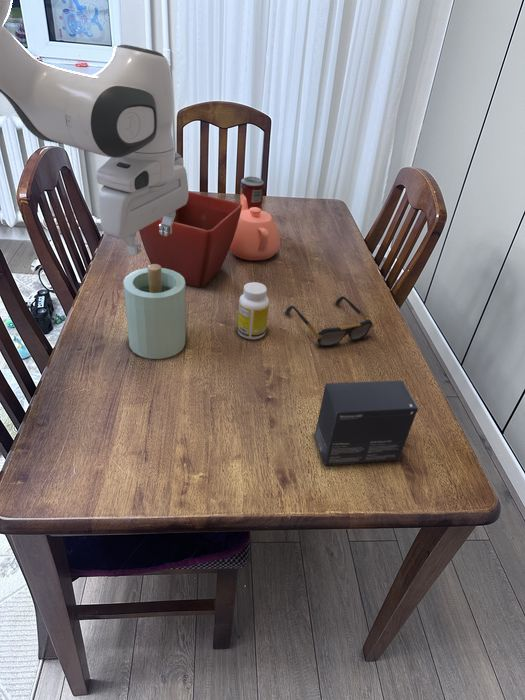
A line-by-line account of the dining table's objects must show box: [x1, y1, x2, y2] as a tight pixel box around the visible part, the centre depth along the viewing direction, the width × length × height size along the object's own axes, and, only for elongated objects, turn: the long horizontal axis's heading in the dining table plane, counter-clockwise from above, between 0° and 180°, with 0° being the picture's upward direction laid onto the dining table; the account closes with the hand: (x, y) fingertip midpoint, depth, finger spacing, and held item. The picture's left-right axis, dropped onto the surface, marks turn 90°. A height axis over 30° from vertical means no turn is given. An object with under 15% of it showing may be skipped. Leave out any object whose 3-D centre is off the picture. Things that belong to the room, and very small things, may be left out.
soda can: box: [239, 176, 265, 211], centre depth 150 cm, size 7×7×12 cm
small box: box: [314, 380, 419, 466], centre depth 78 cm, size 13×7×12 cm, turn 99°
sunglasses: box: [285, 295, 375, 348], centre depth 108 cm, size 14×15×5 cm
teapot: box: [229, 194, 281, 261], centre depth 132 cm, size 22×15×12 cm
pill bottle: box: [237, 281, 270, 340], centre depth 101 cm, size 6×6×11 cm
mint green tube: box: [122, 267, 187, 360], centre depth 95 cm, size 11×11×14 cm
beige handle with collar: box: [147, 263, 162, 293], centre depth 93 cm, size 4×4×16 cm
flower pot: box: [138, 190, 242, 288], centre depth 118 cm, size 19×19×17 cm
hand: (150, 243), depth 86 cm, fingers open, 8 cm apart
